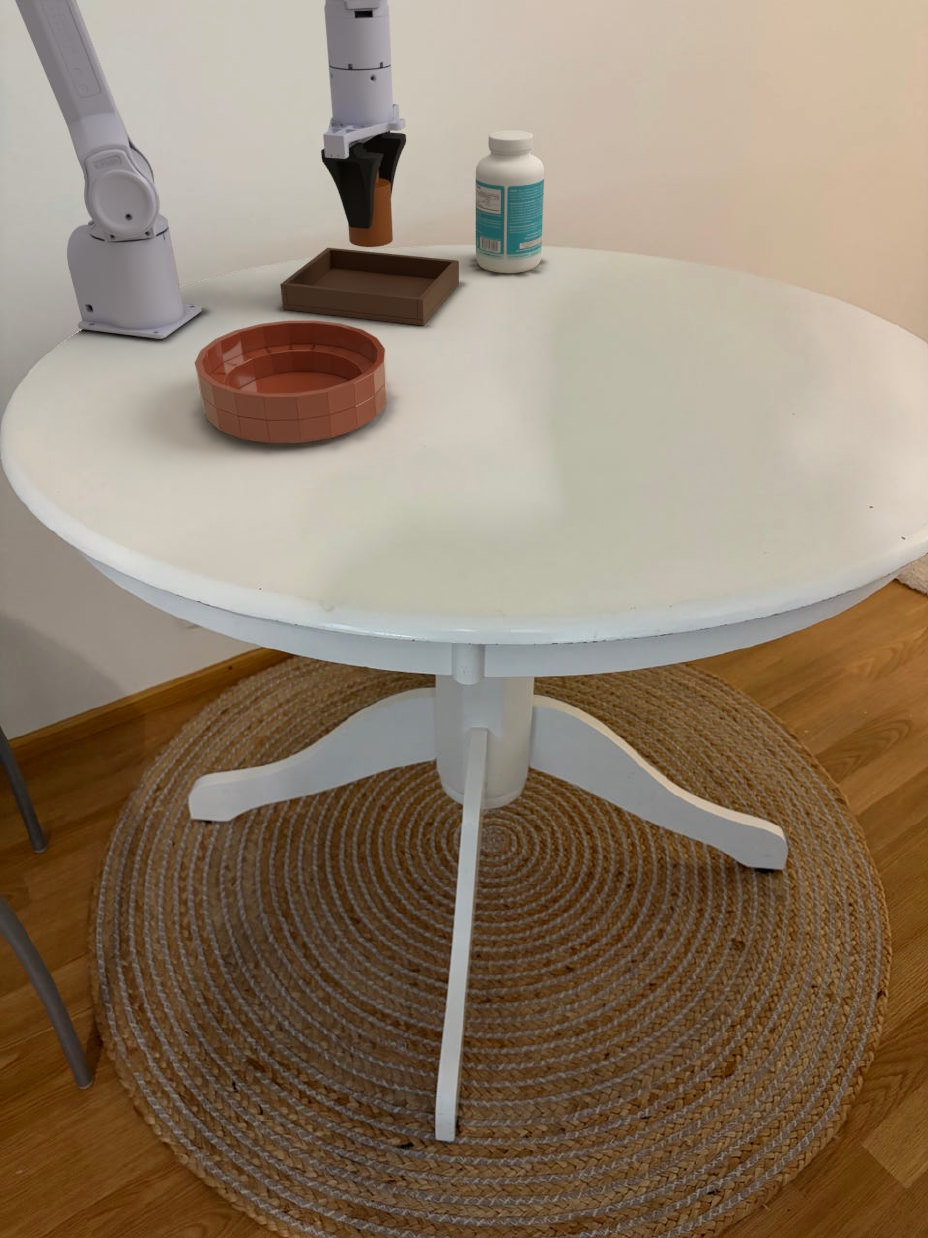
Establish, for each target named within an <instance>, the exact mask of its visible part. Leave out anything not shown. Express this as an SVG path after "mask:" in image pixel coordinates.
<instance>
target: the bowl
mask: <svg viewBox="0 0 928 1238" xmlns="http://www.w3.org/2000/svg"><path fill="white" fill-rule="evenodd" d="M194 367H195V374H196V378H197V384H198V389H199V395H200V399H201V406H202V410H203V413H204V416H205V418H206V420H207V421H208V422H210V424H211V425H213V426H214V427H215V428H216V429H218V430H219V431H220V432H223V433H226V434H227V435H230V436H234V437H236V438H238V439H242V440H249V441H256V442H262V443H270V444H280V443H281V444H283V443H284V444H285V443H286V444H288V443H296V444H297V443H307V442H314V441H320V440H326V439H331V438H334V437H338V436H340V435H343V434H347V433H349V432H352V431H355V430H357V429H359V428H361V427H363V426H364V425H366V424H367V423H369V422H371V421H372V420H374V419H376V418H377V417H378V416H379V414H380V413H381V412H382V411H383V410H384V408H385V407H386V405H387V401H388V378H387V377H388V376H387V375H388V374H387V358H386V348H385V347H384V345H383V344H382V343H381V342H380V340H379V338H378V337H376V336H374V335H373V334H371V333H369V332H367V331H366V330H364V329H361V328H358V327H355V326H351V325H348V324H344V323H341V322H331V321H324V320H315V319H312V320H311V319H310V320H308V319H307V320H305V319H304V320H302V319H301V320H281V321H273V322H265V323H260V324H255V325H251V326H247V327H242V328H239V329H236V330H233V331H230V332H228V333H226V334H224V335H222V336H219V337H216V338H215V339H213V340H212V341H210V343H208V344H207V345H206V346H204V347H203V348H202V349H201V350H199V352H198V354H197V357H196V358H195V361H194Z"/></svg>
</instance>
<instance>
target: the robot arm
mask: <svg viewBox="0 0 928 1238" xmlns="http://www.w3.org/2000/svg"><path fill="white" fill-rule="evenodd" d="M14 1H15V3H16V6H17V8H18V11H19V13H20V15H21V18H22V19H23V22H24V25H25V28H26V30H27V32H28V34H29V37H30V40H31V43H32V44H33V46H34V49H35V51H36V54H37V56H38V59H39V61H40V63H41V66H42V68H43V72H44V73H45V77H46V78H47V81H48V82H49V86H50V88H51V90H52V93H53V95H54V97H55V99H56V102H57V105H58V107H59V110H60V112H61V114H62V116H63V119H64V121H65V124H66V126H67V130H68V133H69V135H70V139H71V142H72V145H73V149H74V152H75V155H76V158H77V161H78V163H79V165H80V167H81V170H82V174H83V179H84V190H83V199H84V205H85V208H86V211H87V213H88V215H89V216H90V218H91V219H90V220H89V221H88V222H87V224H81V225H78V226H77V227H75V229H74V230H73V231H72V232H71V234H70V236H69V238H68V241H67V247H66V260H67V265H68V270H69V273H70V278H71V281H72V285H73V289H74V293H75V297H76V301H77V306H78V309H79V314H80V318H81V321H80V322H78V323H77V326H78V327H77V328H78V329H81V330H88V331H94V332H95V331H96V332H102V333H109V334H110V333H111V334H118V335H125V336H134V337H141V338H148V339H149V338H150V339H157V340H163V339H165V338H167V337H168V336H170V335H171V334H172V333H173V332H175V331H176V330H178V329H179V328H180V327H182V326H183V325H184V324H186V323H188V322H189V321H190V320H192V319H194V317H196V316H197V315H199V314H200V313H201V312H202V311H203V308H202V306H201V305H197V304H188V303H184V302H183V296H182V291H181V286H180V280H179V274H178V270H177V265H176V264H177V263H176V258H175V255H174V254H175V253H174V248H173V243H172V237H171V236H172V235H171V232H170V231H171V230H170V227H169V221H168V218H167V217H165V215H163V214H161V213H160V207H161V204H160V203H161V200H160V196H159V192H158V189H157V187H156V185H155V175H154V170H153V168H152V165H151V163H150V161H149V160H148V158H147V157H146V156H145V154H144V153H143V152H142V151H141V150H140V149H139V148H138V147H137V146H136V145H135V144H134V143H133V141H132V140H131V139H132V138H131V137H130V136H129V133H128V131H127V130H128V129H127V128H126V125H125V123H124V121H123V118H122V116H121V113H120V111H119V109H118V106H117V105H116V102H115V99H114V96H113V94H112V91H111V89H110V86H109V83H108V81H107V79H106V76H105V73H104V70H103V68H102V65H101V62H100V60H99V57H98V55H97V52H96V49H95V47H94V44H93V41H92V38H91V36H90V33H89V31H88V28H87V26H86V23H85V20H84V17H83V15H82V12H81V9H80V7H79V4H78V1H77V0H14ZM324 1H325V3H324V7H323V10H324V22H325V23H324V24H325V34H326V36H325V37H326V46H327V47H326V48H327V60H328V76H329V77H328V78H329V89H330V104H331V113H332V115H331V116H332V117H331V118H330V120H329V125H328V129H327V131H326V132H324V133H323V135H322V136H323V148H322V149H321V150H320V157H321V162H322V163H323V164H324V166H325V168H326V169H327V171H328V173H329V175H330V176H331V178H332V180H333V182H334V184H335V187H336V189H337V192H338V195H339V197H340V200H341V204H342V207H343V210H344V211H343V212H344V214H345V218H346V220H347V225H348V224H349V226H350V227H353V228H364V229H369V228H370V227H371V224H372V219H373V205H374V189H375V182H376V177H377V173H378V172H379V178H383V179H386V180H388V181H389V182H390V187H391V196H392V195H393V188H394V182H395V178H396V177H395V176H396V171H397V168H398V164H399V161H400V158H401V156H402V153H403V150H404V148H405V146H406V144H407V134H406V133H403V132H399V131H402V130H403V129H405V128H406V119H405V118H400V105H399V104H398V103H394V102H393V101H394V99H393V79H392V78H393V76H392V74H393V73H392V50H391V49H392V48H391V26H390V24H391V23H390V6H389V3H388V0H324ZM391 131H395V132H391ZM396 131H397V132H396ZM368 152H373V153H368ZM379 166H380V167H379Z"/></svg>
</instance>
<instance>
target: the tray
mask: <svg viewBox="0 0 928 1238" xmlns="http://www.w3.org/2000/svg"><path fill="white" fill-rule="evenodd" d="M279 285H280V295H281V303H282V310H285V311H286V310H287V311H295V312H301V313H311V314H312V313H313V314H318V315H319V314H320V315H329V316H338V317H345V318H355V319H363V320H371V321H380V322H390V323H398V324H407V325H413V326H422V327H423V326H425V325H426V323H427V322H428V321H429V320H430V319H431V318H432V317H433V315H434V314H435V313H436V312H437V311H438V310H439V309H440V307H441V306H442V305H443V304H444V303H445V301H447V299H448V298H449V297H450V296H451V295H452V294H453V292H454V291H455V290H456V289H457V287H459V285H460V260H455V259H447V258H437V257H428V256H416V255H408V254H407V255H405V254H397V253H389V252H388V253H387V252H377V251H366V250H357V249H346V248H336V247H326V248H325V249H324V250H322V251H321V252H320V253H319V254H317V255H316V256H315V257H313V258H312V259H311V260H309V261H308V262H307V263H306V264H304V265H303V266H302V267H301V268H299V269H298V270H296V272H294V273H293V274H292V275H290V276H289V277H287V278H286V279H285V280H284V281H283V282H281V283H280V284H279Z"/></svg>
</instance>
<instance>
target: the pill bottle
mask: <svg viewBox="0 0 928 1238" xmlns="http://www.w3.org/2000/svg"><path fill="white" fill-rule="evenodd" d="M487 145H488V149H489V151H490V153H489V154H488V155H485V156H484V157H482V158H481V159H480V160H479V161H478V162H477V165H476V167H475V260H476V263H477V264H478V265H479V267H481V268H482V269H484V270H486V271H489V272H494V273H499V274H500V273H501V274H517V273H518V274H519V273H524V272H528V271H531V270H532V269H535V268H536V267H537V266H538V265H539V264H540V262H541V260H542V248H543V245H542V243H543V242H542V241H543V221H544V220H543V219H544V193H545V191H544V190H545V166H544V164H543V162H542V161H541V159H540V158H539V157H537V156H535V155H533V154H531V151H532V149H533V147H534V135H533V133H532V132H530V131H525V130H517V129H515V130H514V129H507V130H497V131H493V132H491V133H489V134H488V144H487Z"/></svg>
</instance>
